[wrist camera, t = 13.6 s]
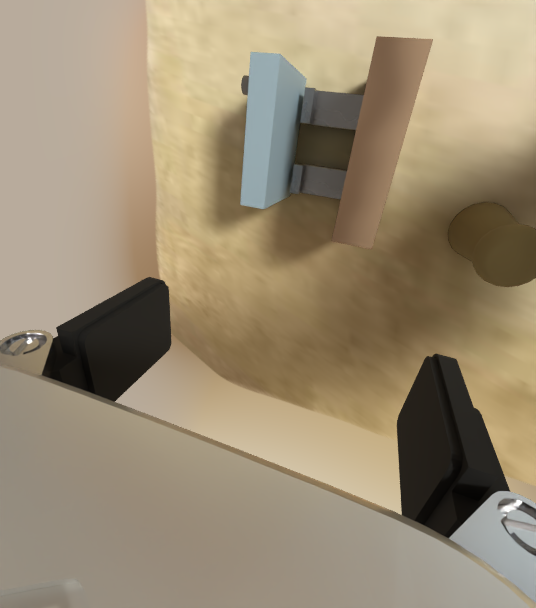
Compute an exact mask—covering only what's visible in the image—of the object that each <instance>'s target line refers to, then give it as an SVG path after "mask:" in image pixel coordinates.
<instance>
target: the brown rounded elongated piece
mask: <svg viewBox="0 0 536 608" xmlns="http://www.w3.org/2000/svg"><path fill="white" fill-rule="evenodd" d="M448 240H449V243H450V245H451V247H452V248H453V249H454V250H455V251H456V252H457V253H458V254H460V255H462V256H464V257H465V258H467V259H469V260H470V261H472V262H473V266H474V268H475V270H476V272H477V274H478V275H479V276H480V277H481V278H482V279H483V280H485V281H487V282H489V283H491V284H494V285H496V286H503V287H512V286H519V285H522V284H525V283H528V282H530V281H531V280H533V279H535V278H536V229H535V228H533V227H530V226H528V225H521V224H519V223H518V222H517V221H516V220H515V218H514V217H513V216H512V215H511V214H510V212H509V211H508V210H506V209H505V208H504V207H503V206H501V205H498V204H496V203H488V202H483V203H478V204H474V205H472V206H470V207H467V208H465V209H464V210H462V211H461V212H460V213H459V214H458V215H457V216H456V217H455V218H454V220H453V221H452V223H451V224H450V228H449V231H448Z"/></svg>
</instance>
